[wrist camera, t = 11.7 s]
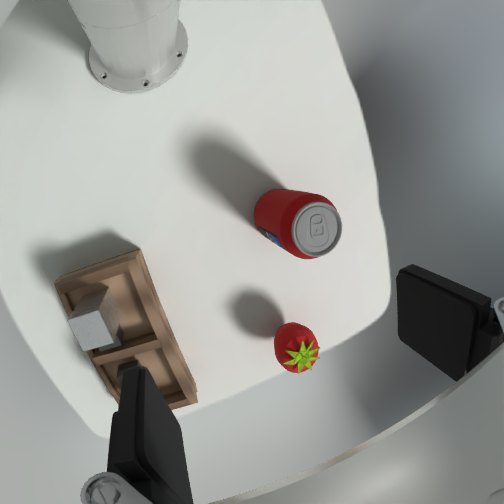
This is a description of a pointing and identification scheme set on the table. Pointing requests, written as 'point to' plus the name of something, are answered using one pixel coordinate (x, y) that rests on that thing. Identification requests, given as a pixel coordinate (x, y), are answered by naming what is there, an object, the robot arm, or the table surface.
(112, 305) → the grey block
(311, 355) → the strawberry
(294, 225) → the beverage can
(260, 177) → the table surface
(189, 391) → the wooden divided tray
